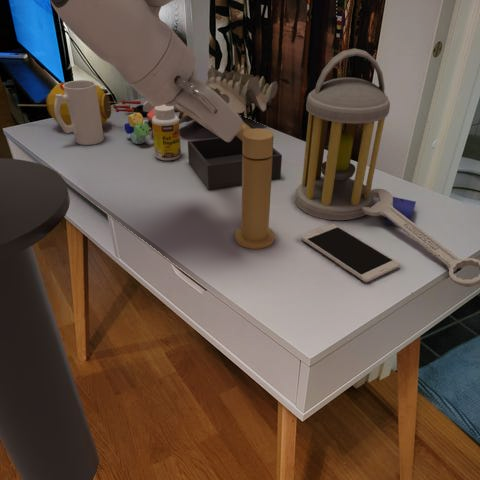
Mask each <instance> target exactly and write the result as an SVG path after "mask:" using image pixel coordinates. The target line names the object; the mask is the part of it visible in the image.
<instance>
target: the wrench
mask: <svg viewBox="0 0 480 480" xmlns="http://www.w3.org/2000/svg"><path fill="white" fill-rule="evenodd" d="M367 195H369V196H372V197H373V198H376V199H378V202H376V203H374V204H373V206H372V207H371V208H369V207H361V209H362V211H363V212H364V213H365V215H368V216H370V217H371V216H372V217H378V216H382V217H383V216H386V217H387V218H388V219H389V220H391V221H392V222H393V223H394V224H396V225H395V226H396V227H398V228H399V229H400V230H402V231H403V232H404V233H406V234H407V235H408V236H409V237H410V238H412V240H414V241H415V242H417V243H418V244H420V245H421V246H422V247H423V248H424V249H425V250H426V251H428V252H429V253H431V255H433V256H434V257H436V259H438V260H440V262H442V263H443V264H444V265H446V267H447V269H448V277H449V279H450V280H451V281H452V282H453V283H455V284H456V285H459V286H461V287H466V288H471V287H475V286H478V285H479V284H480V273H478V276H476V277H473V278H471V279H469V278H467V279H463V278H461V277H457V275H456V274H455V272H456V271H457V270H458V269H460V268H463V266H467V267H468V266H473V267H474V268H478V270H479V271H480V259H477V258H473V257H467V258H466V257H465V258H460V257H458V256H457V255H456V254H454V252H452V251H451V250H449V249H448V248H447V247H445V246H444V245H443V244H442V243H440V242H439V241H438V240H436V239H435V238H433V237H432V235H430V234H429V233H427V232H426V231H425V230H423V229H422V228H421V227H420V226H418V225H417V224H416V223H414V222H413V221H412V220H411V221H410V220H409V219H408V218H406V217H405V216H404V215H402V214H401V213H400V212H399V211H397V210H396V209H395V208H393V197H394V196H393V195H392V193H391V192H390V191H389V190H386V189H384V188H373V189H371V190H370V191H368V192H367ZM386 217H385V218H386Z"/></svg>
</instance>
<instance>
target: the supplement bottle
mask: <svg viewBox="0 0 480 480" xmlns="http://www.w3.org/2000/svg"><path fill="white" fill-rule="evenodd" d="M175 114H176V111H174V107H173V106H166V105H165V104H164V105H161V106H156V107H155V116H154V117H153V118H152V128H153V130H152V135H153V137H152V138H153V147H154V155H155V158H157V159H158V160H160V161H167V162H169V161H175V160H177V159H179V158H180V157H181V155H182V151H181V150H182V149H181V148H182V147H181V132H180V124H179V120H180V119H179V116H177V115H175Z"/></svg>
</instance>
